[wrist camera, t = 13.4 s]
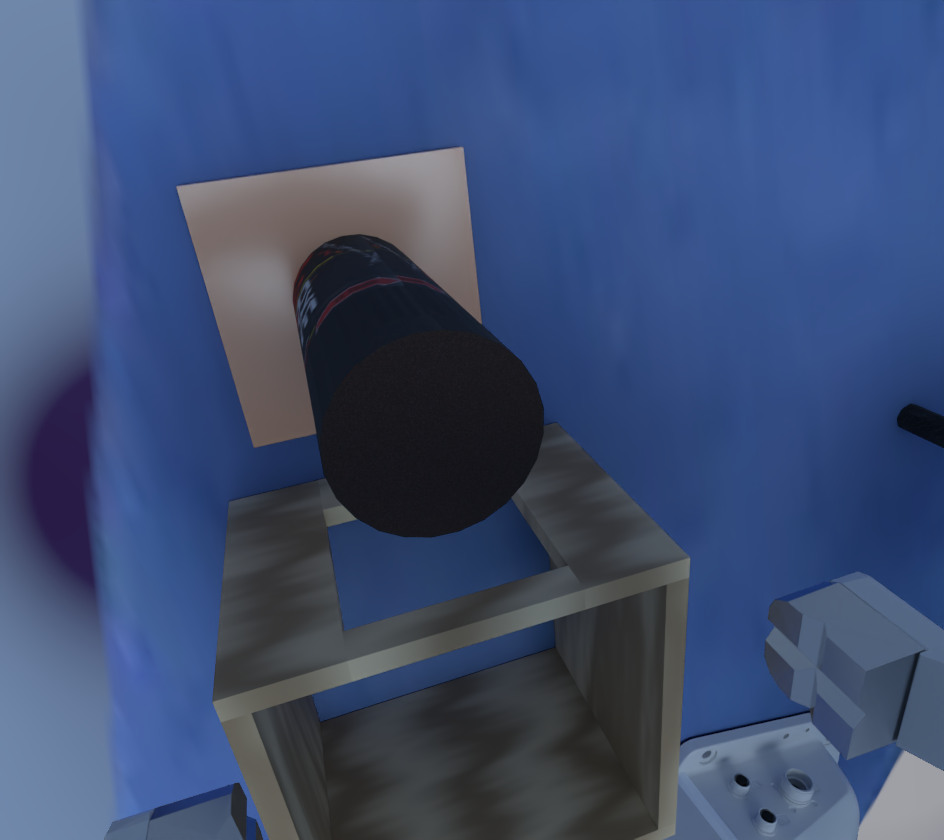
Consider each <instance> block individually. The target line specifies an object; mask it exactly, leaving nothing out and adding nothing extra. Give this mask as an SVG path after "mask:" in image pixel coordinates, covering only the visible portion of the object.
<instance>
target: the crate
mask: <svg viewBox="0 0 944 840" xmlns="http://www.w3.org/2000/svg"><path fill="white" fill-rule="evenodd" d="M511 498H512V500H513V501H514V503H515V504H516V506H517V507H518V509H519V510H520V512H521V513H522V515H523V516H524V518H525V519H526V521H527V522H528V524H529V525H530V527H531V528H532V530H533V531H534V533H535V534H536V536H537V537H538V539H539V540H540V542H541V543H542V545H543V546H544V548H545V549H546V551H547V552H548V554H549V557H550V571H548V572H544V573H541V574H538V575H534V576H531V577H527V578H524V579H520V580H517V581H514V582H510V583H507V584H503V585H500V586H496V587H493V588H490V589H486V590H483V591H479V592H476V593H472V594H469V595H466V596H462V597H459V598H455V599H452V600H448V601H445V602H442V603H438V604H435V605H431V606H428V607H425V608H421V609H418V610H414V611H411V612H407V613H404V614H401V615H397V616H394V617H390V618H387V619H383V620H380V621H377V622H373V623H370V624H366V625H363V626H359V627H356V628H353V629H349V630H346V631H344V626H343V620H342V614H341V608H340V602H339V596H338V590H337V584H336V578H335V572H334V566H333V560H332V554H331V547H330V541H329V535H328V529H327V527H329V526H333V525H337V524H341V523H345V522H349V521H353V520H356V519H357V518H355V517H354V516H353V515H352V514H351V513H350V512H349V511H348V510H347V509H346V508H345V507H344V506H343V505H342V504H341V503H340V502H339V501H338V500H337V499H336V497H335V495H334V493H333V492H332V490H331V488H330V486H329V484H328V482H327V480H326V478H324V479H320V480H316V481H312V482H308V483H303V484H299V485H295V486H291V487H287V488H283V489H279V490H274V491H270V492H266V493H262V494H258V495H254V496H249V497H245V498H241V499H237V500H233V501H229V508H228V520H227V532H226V544H225V556H224V568H223V580H222V593H221V605H220V617H219V629H218V641H217V653H216V665H215V677H214V689H213V701H212V702H213V705H214V707H215V709H216V712H217V714H218V717H219V719H220V721H221V724H222V726H223V729H224V731H225V734H226V736H227V738H228V741H229V743H230V746H231V748H232V750H233V753H234V755H235V758H236V760H237V762H238V765H239V767H240V770H241V772H242V774H243V777H244V779H245V782H246V784H247V787H248V789H249V791H250V794H251V796H252V799H253V801H254V803H255V806H256V808H257V811H258V813H259V815H260V818H261V820H262V823H263V825H264V827H265V830H266V832H267V835H268V837H269V840H663V839H665V838H668V837H670V836H673V835H675V828H676V810H677V791H678V773H679V755H680V737H681V718H682V700H683V682H684V663H685V645H686V627H687V608H688V590H689V572H690V557H689V556H688V555H687V554H686V553H685V552H684V551H683V550H682V549H681V548H680V547H679V546H678V545H677V544H676V543H675V542H674V541H673V540H672V539H671V538H670V537H669V535H668V534H667V533H666V532H665V531H664V530H663V529H662V528H661V527H660V526H659V525H658V524H657V523H656V522H655V521H654V520H653V519H652V518H651V517H650V516H649V515H648V514H647V513H646V512H645V511H644V510H643V509H642V508H641V507H640V506H639V505H638V504H637V503H636V502H635V501H634V500H633V499H632V498H631V497H630V496H629V495H628V494H627V493H626V492H625V491H624V490H623V489H622V488H621V487H620V486H619V485H618V484H617V483H616V482H615V481H614V480H613V479H612V478H611V477H610V476H609V475H608V474H607V473H606V472H605V471H604V470H603V469H602V468H601V467H600V466H599V465H598V464H597V463H596V462H595V461H594V460H593V459H592V458H591V457H590V456H589V454H588V453H587V452H586V451H585V450H584V449H583V448H582V447H581V446H580V445H579V444H578V443H577V442H576V441H575V440H574V439H573V438H572V437H571V436H570V435H569V434H568V433H567V432H566V431H565V430H564V429H563V428H562V427H561V426H560V425H559V424H558V423H553V424H549V425H545V426H544V435H543V439H542V442H541V446H540V450H539V454H538V458H537V460H536V462H535V464H534V466H533V468H532V470H531V471H530V473H529V475H528V477H527V479H526V481H525V482H524V484H523V485H522V486H521V487H520V488H519V489H518V491H517V492H516V493H515V494H514V495H513V496H512V497H511ZM553 619H554V630H555V645H556V647H555V648H552V649H549V650H546V651H542V652H539V653H536V654H533V655H530V656H527V657H524V658H520V659H517V660H514V661H511V662H508V663H505V664H502V665H499V666H495V667H492V668H489V669H486V670H483V671H480V672H477V673H474V674H470V675H467V676H464V677H461V678H458V679H455V680H452V681H449V682H445V683H442V684H439V685H436V686H433V687H430V688H427V689H423V690H420V691H417V692H414V693H411V694H408V695H405V696H402V697H398V698H395V699H392V700H389V701H386V702H383V703H380V704H377V705H373V706H370V707H367V708H364V709H361V710H358V711H355V712H352V713H348V714H345V715H342V716H339V717H336V718H333V719H330V720H326V721H323V722H320V720H319V717H318V714H317V711H316V708H315V704H314V701H313V698H312V695H311V694H314V693H318V692H321V691H324V690H327V689H331V688H334V687H337V686H340V685H344V684H347V683H350V682H353V681H356V680H360V679H363V678H366V677H369V676H373V675H376V674H379V673H382V672H386V671H389V670H392V669H395V668H398V667H402V666H405V665H408V664H411V663H415V662H418V661H421V660H424V659H428V658H431V657H434V656H437V655H440V654H444V653H447V652H450V651H453V650H457V649H460V648H463V647H466V646H469V645H473V644H476V643H479V642H482V641H486V640H489V639H492V638H495V637H499V636H502V635H505V634H508V633H511V632H515V631H518V630H521V629H524V628H528V627H531V626H534V625H537V624H541V623H544V622H547V621H550V620H553Z"/></svg>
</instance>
